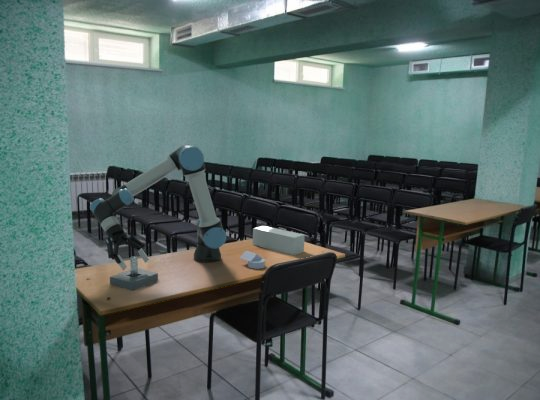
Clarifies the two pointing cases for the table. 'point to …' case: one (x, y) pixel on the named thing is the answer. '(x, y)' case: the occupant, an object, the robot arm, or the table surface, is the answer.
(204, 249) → the robot arm
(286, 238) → the long white box
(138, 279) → the hole block
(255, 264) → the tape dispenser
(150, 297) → the table surface
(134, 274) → the peg
